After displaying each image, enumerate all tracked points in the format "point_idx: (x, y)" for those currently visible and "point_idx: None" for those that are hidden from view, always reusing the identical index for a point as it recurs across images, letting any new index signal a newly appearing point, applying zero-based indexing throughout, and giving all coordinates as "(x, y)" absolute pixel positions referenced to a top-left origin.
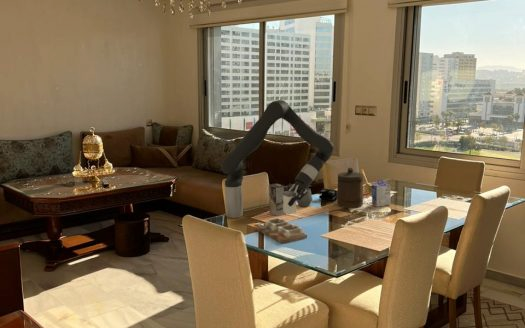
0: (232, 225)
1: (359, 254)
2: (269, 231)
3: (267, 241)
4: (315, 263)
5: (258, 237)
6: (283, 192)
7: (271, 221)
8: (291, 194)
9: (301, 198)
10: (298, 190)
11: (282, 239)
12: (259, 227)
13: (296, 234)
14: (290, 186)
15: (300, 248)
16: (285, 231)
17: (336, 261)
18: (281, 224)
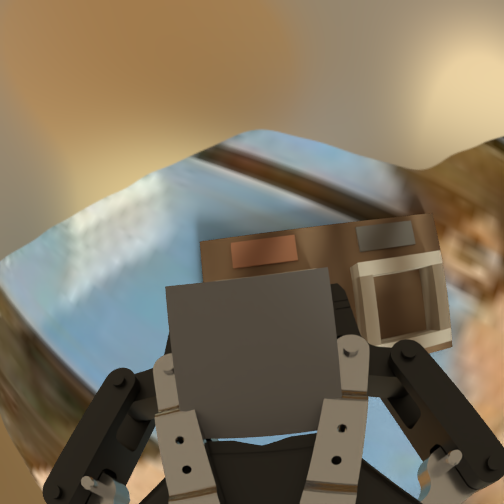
0: (490, 160)
1: (23, 415)
2: (351, 241)
3: (263, 198)
4: (19, 264)
5: (330, 184)
6: (312, 269)
7: (431, 284)
8: (179, 350)
9: (123, 427)
10: (163, 479)
11: (212, 249)
12: (421, 223)
13: None
14: (443, 464)
15: (121, 289)
16: (237, 278)
17: (7, 326)
18: (362, 313)
